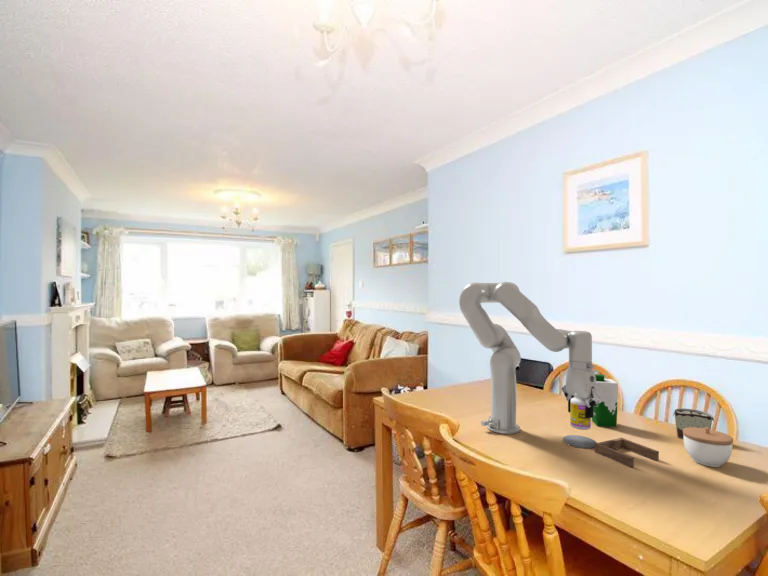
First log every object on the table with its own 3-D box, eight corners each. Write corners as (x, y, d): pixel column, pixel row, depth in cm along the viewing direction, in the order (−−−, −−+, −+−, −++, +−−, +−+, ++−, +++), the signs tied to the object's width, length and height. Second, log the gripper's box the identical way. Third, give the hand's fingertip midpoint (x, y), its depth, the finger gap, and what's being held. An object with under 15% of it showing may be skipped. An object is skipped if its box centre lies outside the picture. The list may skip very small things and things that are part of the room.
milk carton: (589, 419, 170) (589, 372, 170) (612, 421, 168) (612, 373, 168) (595, 426, 161) (595, 377, 161) (620, 428, 160) (620, 378, 160)
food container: (708, 437, 151) (708, 410, 151) (714, 442, 145) (714, 415, 145) (669, 432, 156) (669, 406, 156) (672, 437, 150) (673, 410, 150)
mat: (581, 450, 138) (581, 448, 138) (556, 439, 148) (556, 437, 148) (604, 445, 142) (604, 443, 142) (577, 435, 152) (577, 433, 152)
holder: (631, 467, 125) (631, 458, 125) (594, 452, 136) (594, 443, 136) (658, 460, 130) (658, 451, 130) (621, 446, 142) (621, 437, 142)
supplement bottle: (576, 430, 141) (576, 394, 141) (566, 424, 148) (566, 389, 148) (594, 430, 142) (594, 393, 142) (584, 423, 149) (583, 389, 149)
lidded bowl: (736, 474, 121) (737, 438, 121) (684, 464, 127) (684, 430, 127) (728, 459, 131) (728, 425, 131) (680, 451, 138) (681, 419, 138)
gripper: (609, 368, 139) (609, 420, 139) (567, 360, 154) (568, 407, 154) (594, 370, 136) (594, 423, 135) (553, 362, 151) (553, 409, 151)
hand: (580, 414), depth 145 cm, fingers closed on supplement bottle, 6 cm apart
